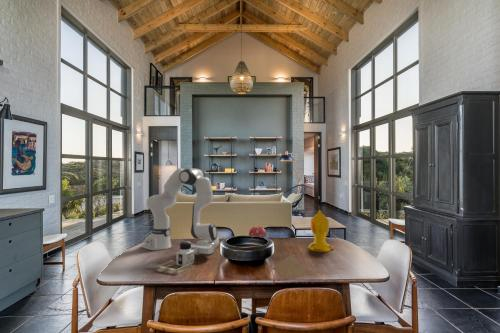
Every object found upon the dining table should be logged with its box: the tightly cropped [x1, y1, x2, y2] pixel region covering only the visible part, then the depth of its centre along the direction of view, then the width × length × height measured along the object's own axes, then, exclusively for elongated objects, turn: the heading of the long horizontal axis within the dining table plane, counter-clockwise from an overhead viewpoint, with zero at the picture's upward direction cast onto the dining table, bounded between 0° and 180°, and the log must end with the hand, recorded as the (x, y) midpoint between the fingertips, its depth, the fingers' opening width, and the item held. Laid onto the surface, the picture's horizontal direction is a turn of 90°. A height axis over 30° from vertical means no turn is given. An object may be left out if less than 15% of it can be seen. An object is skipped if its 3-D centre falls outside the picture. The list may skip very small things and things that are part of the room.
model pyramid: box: [271, 253, 312, 279], centre depth 162 cm, size 17×17×10 cm
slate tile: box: [145, 263, 161, 270], centre depth 167 cm, size 6×6×2 cm
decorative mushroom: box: [248, 225, 267, 238], centre depth 217 cm, size 13×13×15 cm
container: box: [175, 241, 195, 267], centre depth 173 cm, size 8×8×13 cm
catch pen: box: [156, 259, 192, 275], centre depth 164 cm, size 14×13×2 cm
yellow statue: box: [308, 209, 334, 253], centre depth 210 cm, size 18×24×28 cm
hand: (189, 251), depth 177 cm, fingers closed
